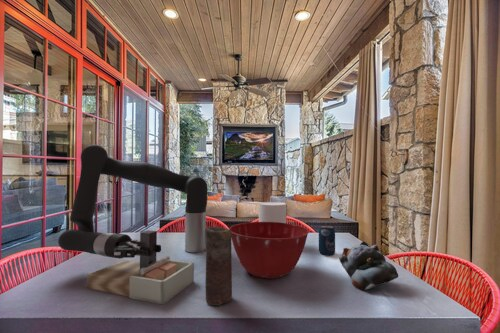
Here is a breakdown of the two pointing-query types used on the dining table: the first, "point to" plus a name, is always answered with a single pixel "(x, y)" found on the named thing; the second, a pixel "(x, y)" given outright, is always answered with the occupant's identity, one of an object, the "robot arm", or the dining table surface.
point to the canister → (272, 212)
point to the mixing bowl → (268, 247)
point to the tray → (162, 284)
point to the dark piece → (149, 262)
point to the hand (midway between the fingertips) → (155, 250)
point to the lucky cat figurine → (367, 266)
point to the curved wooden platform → (114, 277)
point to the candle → (218, 265)
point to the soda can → (326, 240)
